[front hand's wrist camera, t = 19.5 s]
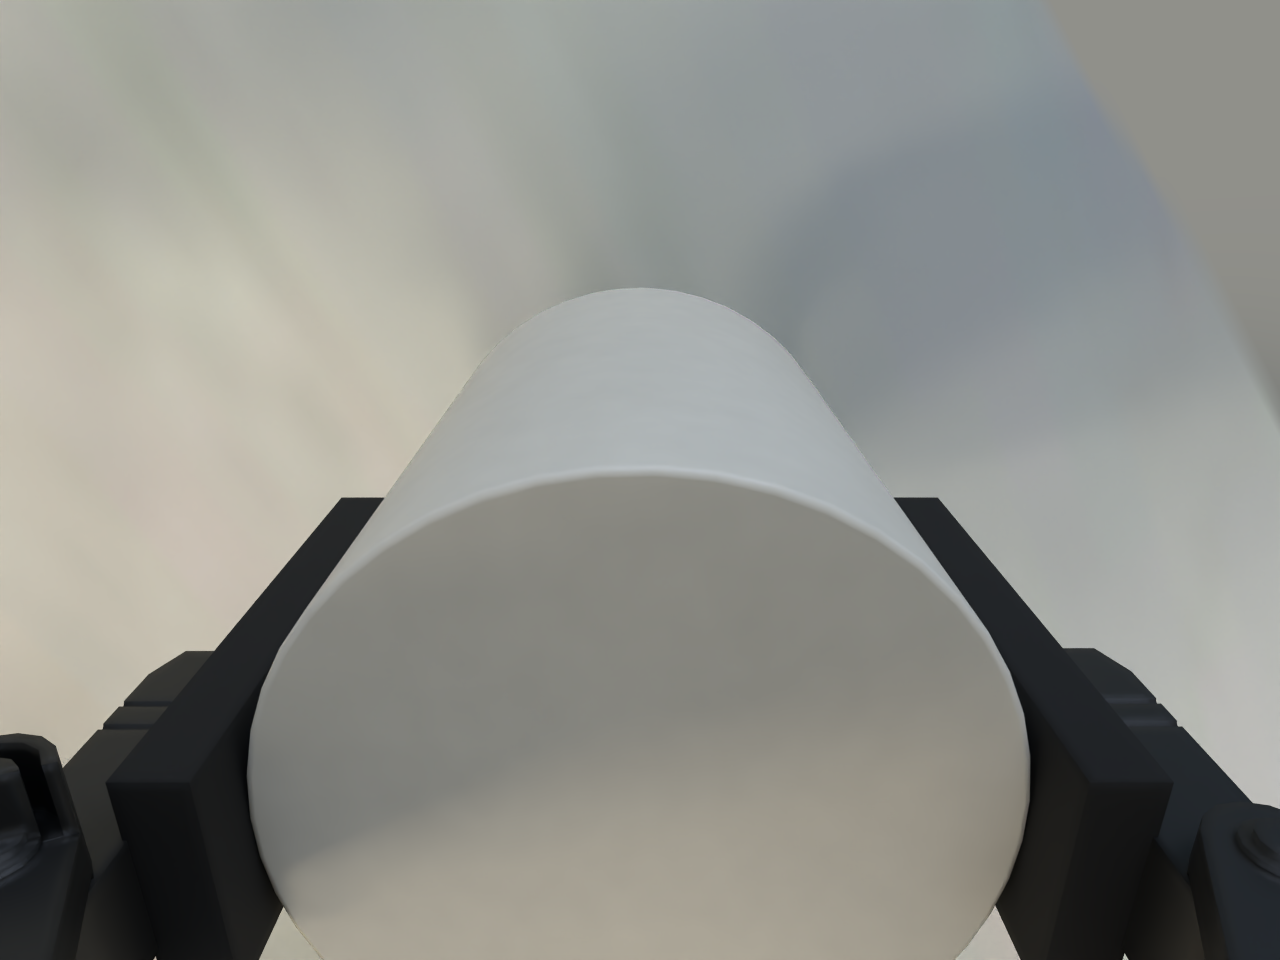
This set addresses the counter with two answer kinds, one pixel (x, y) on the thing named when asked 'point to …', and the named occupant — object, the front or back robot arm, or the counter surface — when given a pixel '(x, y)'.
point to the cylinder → (638, 678)
